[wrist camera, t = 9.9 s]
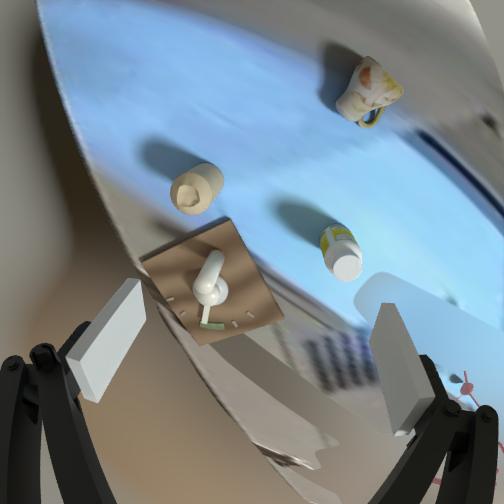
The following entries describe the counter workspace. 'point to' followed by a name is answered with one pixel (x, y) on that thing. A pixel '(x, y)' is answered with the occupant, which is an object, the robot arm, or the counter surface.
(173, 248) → the board
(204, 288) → the handle
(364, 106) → the mug
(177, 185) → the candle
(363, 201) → the counter surface
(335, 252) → the supplement bottle
